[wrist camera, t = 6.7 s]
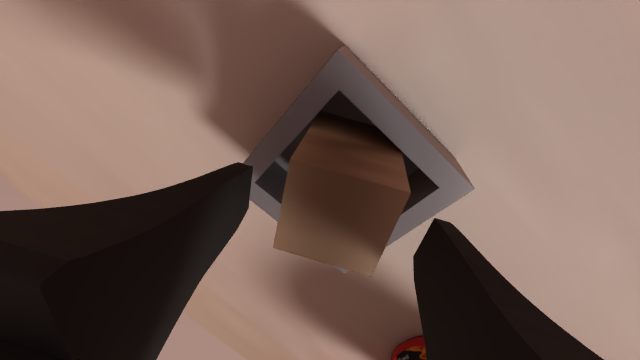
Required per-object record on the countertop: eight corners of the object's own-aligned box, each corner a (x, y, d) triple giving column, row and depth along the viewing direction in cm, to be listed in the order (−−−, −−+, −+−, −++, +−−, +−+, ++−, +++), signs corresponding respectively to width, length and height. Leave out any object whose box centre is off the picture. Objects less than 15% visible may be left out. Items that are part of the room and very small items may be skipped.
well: (455, 158, 15) (475, 188, 12) (348, 236, 18) (344, 274, 15) (345, 44, 13) (338, 49, 10) (251, 156, 17) (227, 181, 14)
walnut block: (396, 131, 14) (410, 193, 9) (371, 196, 16) (371, 276, 11) (320, 110, 14) (290, 158, 9) (305, 177, 16) (272, 247, 11)
